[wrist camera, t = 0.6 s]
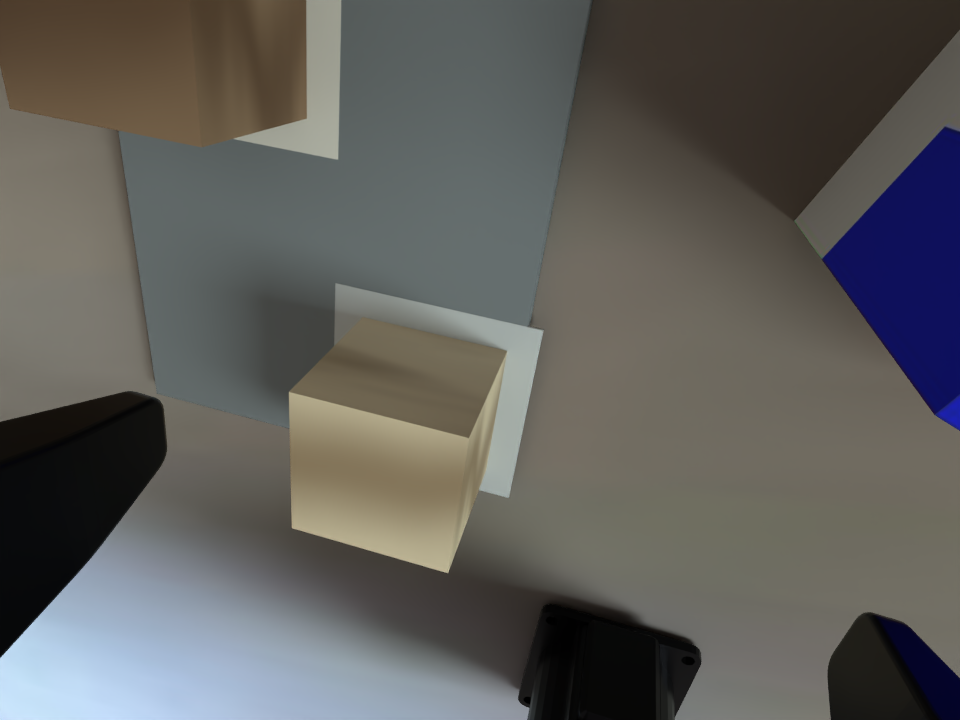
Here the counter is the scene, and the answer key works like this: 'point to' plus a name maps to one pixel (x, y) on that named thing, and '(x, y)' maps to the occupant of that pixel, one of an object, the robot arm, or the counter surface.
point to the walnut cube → (158, 64)
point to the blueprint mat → (366, 205)
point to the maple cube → (393, 440)
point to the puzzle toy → (904, 232)
